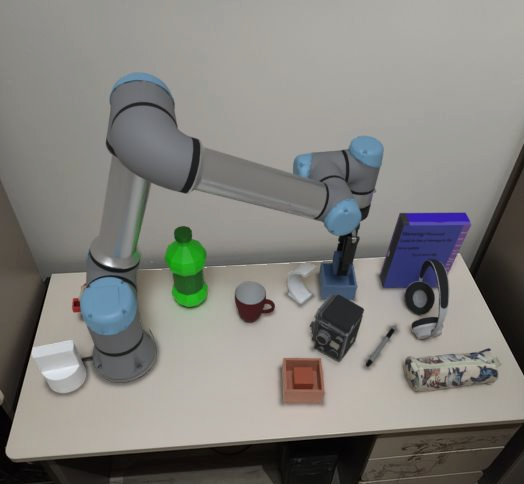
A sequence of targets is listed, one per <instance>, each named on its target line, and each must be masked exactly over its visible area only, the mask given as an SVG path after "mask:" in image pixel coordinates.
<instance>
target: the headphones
mask: <svg viewBox="0 0 524 484" xmlns="http://www.w3.org/2000/svg"><path fill="white" fill-rule="evenodd" d="M429 266H431V267H432V268H433V270H434V272H435V275H436V279H437V284H438V287H437V292H438V313H437V314H438V315H437V316H428V317H423V318H419V319H416V320H414V321H413V322H412V323H411V326H410V327H411V332H412V333H413V334H414V335H415V336H416V338H417V339H418V340H419V339H420V340H424V339H431V338H436V337H438V336H439V337H440V336H442V334H443V332H442V331H443V328H444V322H445V320H446V317H447V314H448V309H449V302H450V281H449V280H450V279H449V274H448V275H447V272H446V269H445V267H444V265H443V264H442V263H441V262H440V261H438V260H436V259H428V260H426V261H425V262H424V263H423V265H422V268H421V272H420V276H419V281H415V282H413V283H411V284H410V285H409V286H408V287H407V288H405V291H404V303H405V306H406V307H407V309H408V310H409V311H410V312H412V313H413V314H414V315H418V316H422V315H423V316H424V315H426V314H429V312H430V311H431V310H432V309H433V307H434V305H435V302H436V296H435V291H434V288H433V287H430V285H428V284H427V283H425V282H422V279H423V276H424V274H425V272H426V270H427V268H428V267H429Z"/></svg>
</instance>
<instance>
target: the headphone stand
mask: <svg viewBox="0 0 524 484" xmlns="http://www.w3.org/2000/svg"><path fill="white" fill-rule="evenodd" d="M317 268H318V267H317V265H315V264H313V263H310V262H302V263H300V265H298V266H296V267H295V268H294V269H292V270H291V271H290V272H288V273H287V276H286V284H287V289H288V291H289V292H287V295H288V296H289V298H291V299H292V300H294V301H295V302H297V303H298V304H299V305H303V304H304V303H305V302H307V301H308V300H309V299H311V297H312V296H313V293H311V292H310V291H309V290H308V289H307V288H306V286H305V284H304V283H303V281H302V278H301V276H302V277H303V278H307V277H308V276H309V275H310V274H312V273H314V271H316V270H317Z"/></svg>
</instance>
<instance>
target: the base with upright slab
mask: <svg viewBox="0 0 524 484" xmlns="http://www.w3.org/2000/svg"><path fill="white" fill-rule="evenodd" d="M31 357H32V359H33V361H34V363H35V364H36V367H38V369H39V371H40V373H41V374H42V376H43V378H44V379H45V381H46V383H47V385H48V386H49V388H50V389H51V390H52V391H54V392H56V393H60V394H67V393H72V392H74V391H76V390H78V389H79V388H80V387H81V386H82V385H83V384H84V382H85V381H86V379H87V373H88V372H87V369H86V366H85V364H84V361H82V360H81V358H82V357H81V355H80V353H79V351H78V349H77V347H76V345H75V342H74V340H73V339H69V340H64V341H59V342H53V343H49V344H48V343H47V344H43V345H38V346H33V347H32V350H31Z"/></svg>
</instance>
